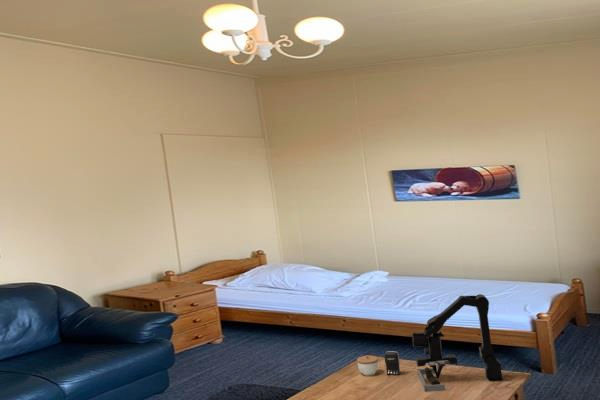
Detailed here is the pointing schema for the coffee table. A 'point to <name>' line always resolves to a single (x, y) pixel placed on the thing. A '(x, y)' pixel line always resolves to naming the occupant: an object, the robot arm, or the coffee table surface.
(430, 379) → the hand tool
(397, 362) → the battery charger
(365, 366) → the lidded jar
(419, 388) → the coffee table surface
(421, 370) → the plate
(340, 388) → the coffee table surface
